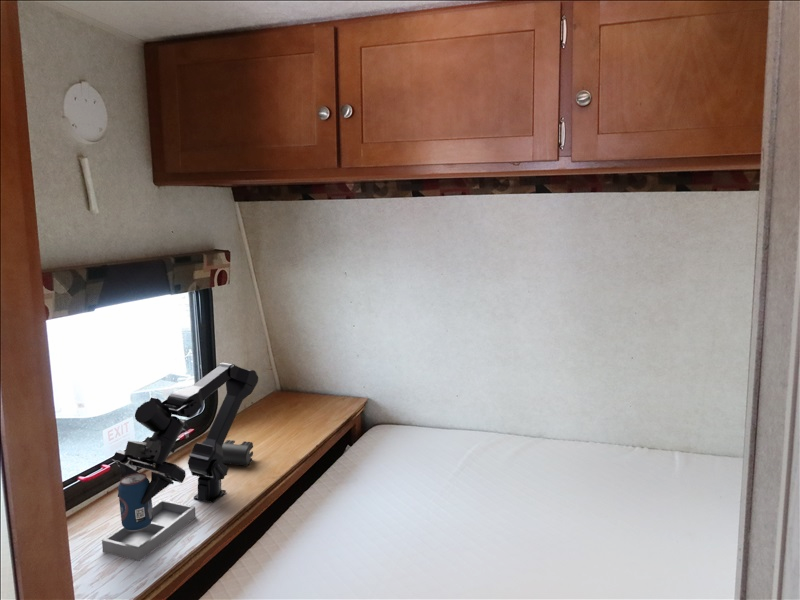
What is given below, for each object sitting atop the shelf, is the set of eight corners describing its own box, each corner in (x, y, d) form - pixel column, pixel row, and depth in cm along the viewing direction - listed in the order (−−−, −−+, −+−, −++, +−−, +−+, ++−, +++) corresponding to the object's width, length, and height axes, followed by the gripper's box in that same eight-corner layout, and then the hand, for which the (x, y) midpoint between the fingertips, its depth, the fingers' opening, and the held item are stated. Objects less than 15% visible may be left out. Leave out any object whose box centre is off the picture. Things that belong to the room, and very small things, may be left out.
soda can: (119, 524, 141) (114, 477, 139) (149, 514, 145) (145, 469, 143) (125, 536, 135) (120, 487, 134) (157, 526, 139) (152, 478, 138)
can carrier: (162, 509, 157) (161, 499, 156) (195, 517, 154) (195, 506, 153) (102, 551, 138) (102, 540, 137) (139, 561, 135) (138, 549, 134)
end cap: (215, 467, 182) (214, 447, 181) (224, 457, 189) (224, 438, 188) (246, 470, 181) (245, 449, 180) (254, 460, 188) (254, 440, 187)
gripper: (115, 419, 143) (79, 480, 135) (175, 433, 136) (140, 498, 128) (142, 437, 152) (109, 496, 144) (199, 451, 145) (168, 513, 137)
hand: (130, 500), depth 138 cm, fingers closed on soda can, 7 cm apart
